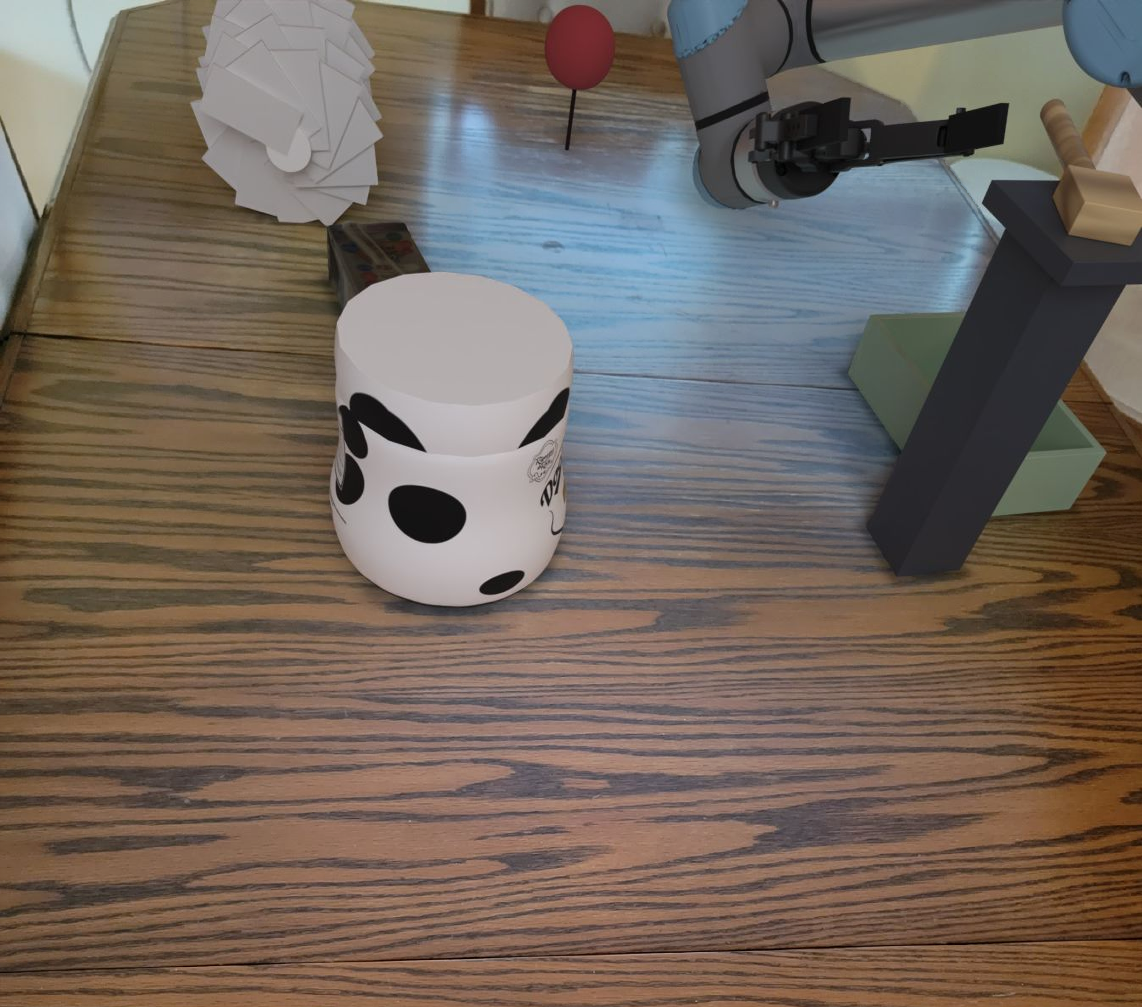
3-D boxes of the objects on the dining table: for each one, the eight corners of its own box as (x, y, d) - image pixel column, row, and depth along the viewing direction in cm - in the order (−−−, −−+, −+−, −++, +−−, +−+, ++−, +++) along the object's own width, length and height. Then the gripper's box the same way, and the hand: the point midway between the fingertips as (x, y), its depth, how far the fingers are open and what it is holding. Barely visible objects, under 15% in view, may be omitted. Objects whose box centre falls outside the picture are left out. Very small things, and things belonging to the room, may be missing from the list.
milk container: (603, 562, 81) (645, 356, 67) (435, 665, 72) (443, 454, 58) (457, 449, 87) (467, 237, 73) (286, 532, 78) (259, 311, 64)
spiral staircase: (335, 174, 120) (344, 278, 105) (181, 91, 111) (166, 192, 96) (401, 12, 109) (422, 102, 94) (236, -94, 100) (229, -13, 85)
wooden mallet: (1130, 246, 62) (1149, 213, 61) (1067, 235, 62) (1085, 201, 61) (1073, 128, 73) (1088, 97, 71) (1019, 118, 73) (1032, 86, 71)
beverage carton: (407, 278, 102) (407, 211, 96) (464, 394, 92) (468, 326, 86) (327, 284, 99) (322, 215, 94) (376, 403, 89) (375, 334, 84)
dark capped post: (978, 592, 85) (1183, 260, 62) (893, 601, 83) (1073, 262, 60) (924, 511, 90) (1094, 180, 68) (843, 518, 88) (991, 179, 66)
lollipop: (576, 177, 119) (595, 27, 107) (522, 153, 121) (535, 3, 109) (610, 157, 123) (632, 10, 111) (558, 134, 125) (574, -12, 113)
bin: (845, 378, 101) (870, 314, 96) (955, 373, 104) (985, 310, 99) (945, 525, 89) (980, 461, 84) (1066, 514, 93) (1107, 452, 87)
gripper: (902, 200, 100) (1055, 180, 82) (664, 199, 94) (771, 176, 75) (912, 110, 97) (1073, 67, 78) (666, 102, 90) (778, 54, 72)
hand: (925, 121), depth 77 cm, fingers open, 13 cm apart
